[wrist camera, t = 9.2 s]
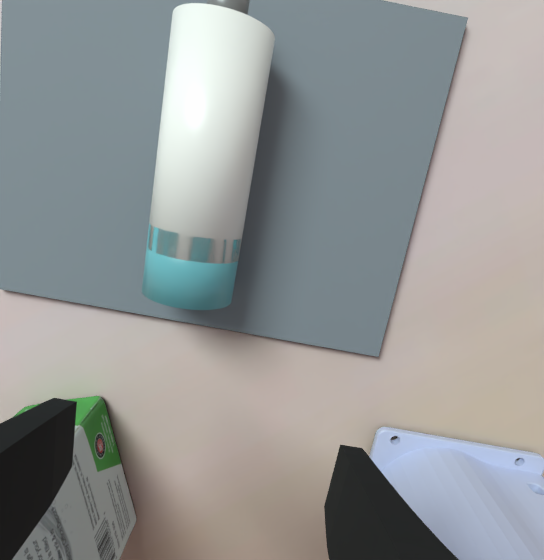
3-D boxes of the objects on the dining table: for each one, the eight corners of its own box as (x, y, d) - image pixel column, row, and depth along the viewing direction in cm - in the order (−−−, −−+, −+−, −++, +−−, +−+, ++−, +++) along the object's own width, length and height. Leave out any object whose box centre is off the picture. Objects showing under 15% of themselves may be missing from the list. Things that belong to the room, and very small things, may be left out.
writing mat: (463, 21, 17) (468, 17, 17) (376, 353, 21) (378, 356, 21) (10, -70, 17) (4, -76, 17) (0, 286, 20) (-5, 288, 20)
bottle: (278, 23, 17) (284, -24, 13) (234, 290, 20) (227, 316, 16) (187, 3, 17) (165, -51, 13) (154, 277, 20) (129, 299, 16)
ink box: (21, 403, 22) (-263, 640, 10) (107, 393, 22) (-87, 624, 10) (60, 531, 24) (-143, 850, 12) (139, 523, 24) (7, 841, 12)
